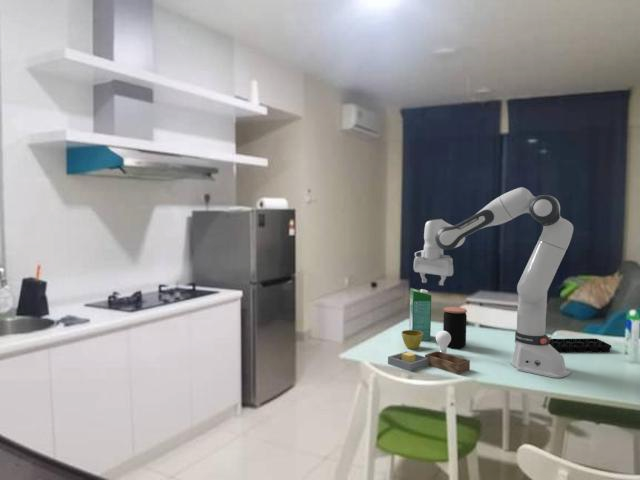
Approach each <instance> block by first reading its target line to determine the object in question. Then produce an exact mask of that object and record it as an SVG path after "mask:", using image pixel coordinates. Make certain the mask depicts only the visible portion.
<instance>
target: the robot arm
mask: <svg viewBox="0 0 640 480" xmlns="http://www.w3.org/2000/svg"><path fill="white" fill-rule="evenodd" d="M523 214H530V216H531V217H532V218H533V219H534V220H535V221H536V222H538V223H540V224H541V225H542V226H543V228H542V232H541V235H540V236H539V238H538V240H537V243H536V245H535V246H534V249H533V251H532V253H531V255H530V257H529V259H528V262H527V263H526V266H525V268H524V270H523V273H522V274H521V276H520V279H519V281H518V283H517V285H516V292H517V294H518V299H517V300H518V302H517V311H516V315H517V316H516V330H515V334H514V343H515V346H514V352H513V357H512V360H511V366H512V367H514V368H515V369H516V370H517V371H520V372H525V373H530V374H535V375H540V376H544V377H547V378H548V377H550V378H553V379H558V378H559V379H560V378H565V377H567V376H569V375H570V374H571V373H572V371H571V368H569V367H566V363H565V359H564V355H563V354H561V352H558V351H556V350H555V349H554V348H553V347H552V346H551V345H550V344H549V340H551V339H552V336H548V335H547V333H546V325H547V323H546V322H547V319H546V318H547V302H548V291H549V288H550V286H551V284H552V282H553V281H554V277H555V276H556V273H557V270H558V269H559V266H560V265H561V262H562V261H563V258H564V256H565V254H566V251H567V250H568V247H569V245H570V243H571V240H572V238H573V233H574V225H573V223H572V222H570V221H569V220H567V219H565V218H563V217H562V216H561V204H560V202H559V200H558V199H557V198H555V197H554V196H553V195H552V196H551V195H548V194H539V195H538V196H535V195H534V194H532V192H531V191H530V190H529V189H527V188H526V187H522V186H521V187H517V188H515V189H512V190H510V191H508V192H505V193H503V194H501V195H500V196H498V197H496V198H495V199H493V200H492V201H490V202H489V203H488V204H486V205H485V206H484V207H482V208H481V209H480V210H479V211H478V212H476V213H475V214H474V215H472V216H470V217H469V218H466V219H464V220H462V221H461V222H459V223H458V224H457V223H456V224H455V225H452V224H451V223H448V222H446V221H445V220H443V219H442V218H436V219H433V218H432V219H429V220H427V221H426V222H425V224H424V230H423V232H424V233H423V239H424V240H423V241H424V244H423V250H419V251H416V252H414V259H413V271H414V273H419V275H420V278H421V283H423V284H427V282H428V279H427V278H426V276H425V275H426V274H428V275H435V276H440V278H441V279H440V280H439V281H438V285H439V286H444V282H445V280H446V279H447V277H452V276H453V275H454V264H453V263H454V261H453V260H454V259H453V258H452V257H451V255H446V254H444V251H451V250H453V249H456V248H458V247H460V246H462V245H463V244H464V243H465V241H466V237H468V236H470V235H471V234H473V233H475V232H477V231H479V230H482V229H484V228H488V227H492V226H493V227H494V226H499V225H503V224H505V223H507V222H509V221H512V220H513V219H515V218H516V217H519V216H521V215H523Z"/></svg>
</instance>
